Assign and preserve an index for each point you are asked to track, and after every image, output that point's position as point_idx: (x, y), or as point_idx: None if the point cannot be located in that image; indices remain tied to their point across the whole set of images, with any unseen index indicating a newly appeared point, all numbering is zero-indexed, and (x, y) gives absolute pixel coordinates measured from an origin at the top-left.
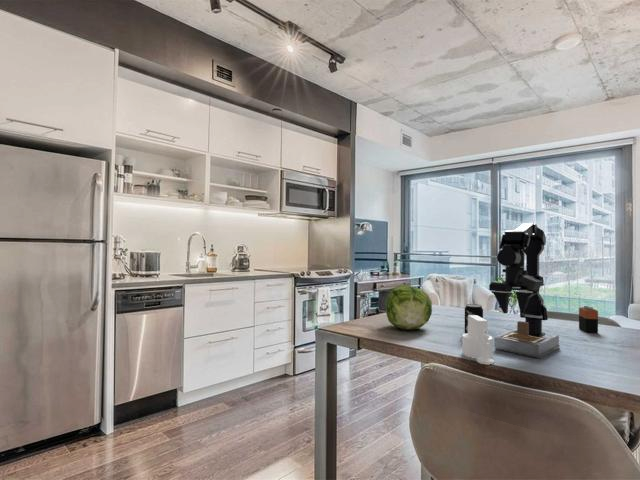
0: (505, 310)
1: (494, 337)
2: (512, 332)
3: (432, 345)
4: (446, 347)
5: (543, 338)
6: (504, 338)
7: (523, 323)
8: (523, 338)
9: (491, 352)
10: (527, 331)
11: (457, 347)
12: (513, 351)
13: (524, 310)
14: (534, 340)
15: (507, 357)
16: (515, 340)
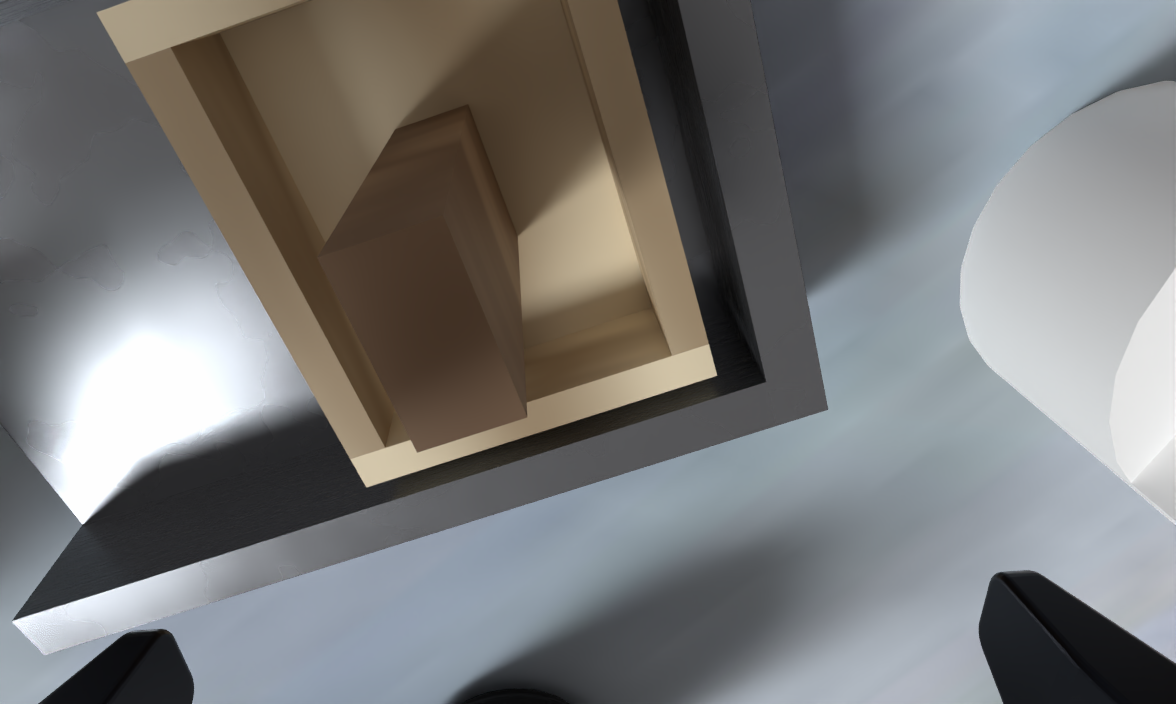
0: (1109, 635)
1: (825, 402)
2: (311, 519)
3: (1141, 621)
4: (1103, 543)
5: (113, 6)
6: (788, 290)
7: (477, 284)
8: (485, 182)
9: (1172, 104)
10: (427, 167)
11: (1018, 514)
12: (679, 144)
13: (93, 679)
14: (243, 137)
15: (927, 26)
16: (750, 129)
